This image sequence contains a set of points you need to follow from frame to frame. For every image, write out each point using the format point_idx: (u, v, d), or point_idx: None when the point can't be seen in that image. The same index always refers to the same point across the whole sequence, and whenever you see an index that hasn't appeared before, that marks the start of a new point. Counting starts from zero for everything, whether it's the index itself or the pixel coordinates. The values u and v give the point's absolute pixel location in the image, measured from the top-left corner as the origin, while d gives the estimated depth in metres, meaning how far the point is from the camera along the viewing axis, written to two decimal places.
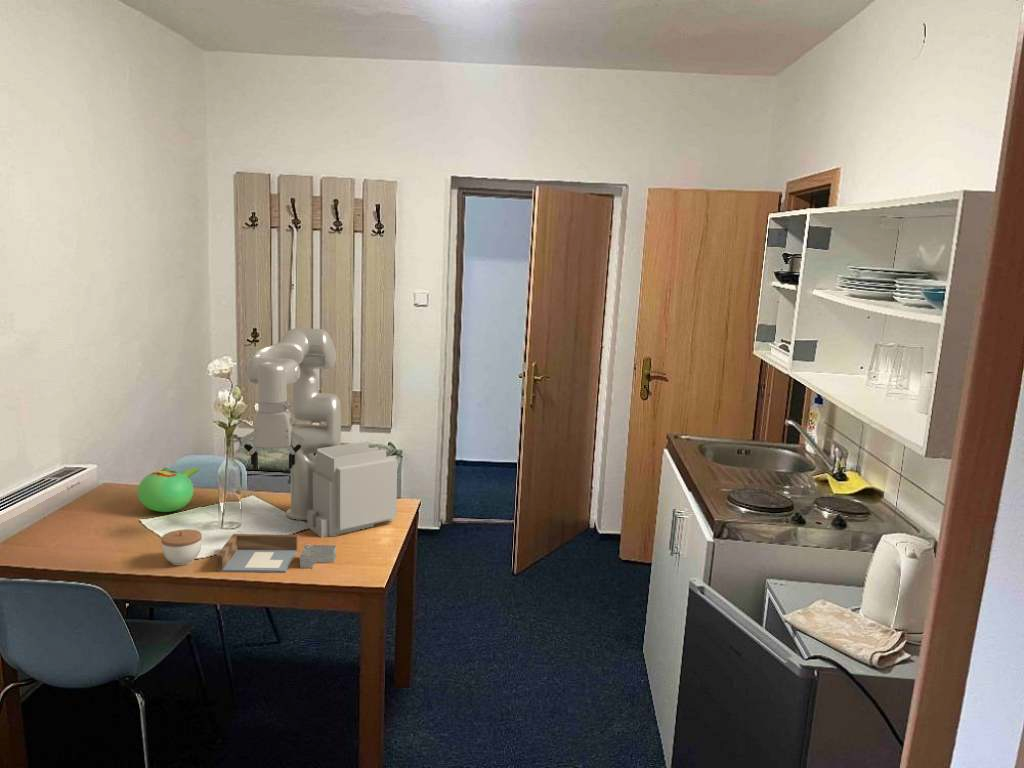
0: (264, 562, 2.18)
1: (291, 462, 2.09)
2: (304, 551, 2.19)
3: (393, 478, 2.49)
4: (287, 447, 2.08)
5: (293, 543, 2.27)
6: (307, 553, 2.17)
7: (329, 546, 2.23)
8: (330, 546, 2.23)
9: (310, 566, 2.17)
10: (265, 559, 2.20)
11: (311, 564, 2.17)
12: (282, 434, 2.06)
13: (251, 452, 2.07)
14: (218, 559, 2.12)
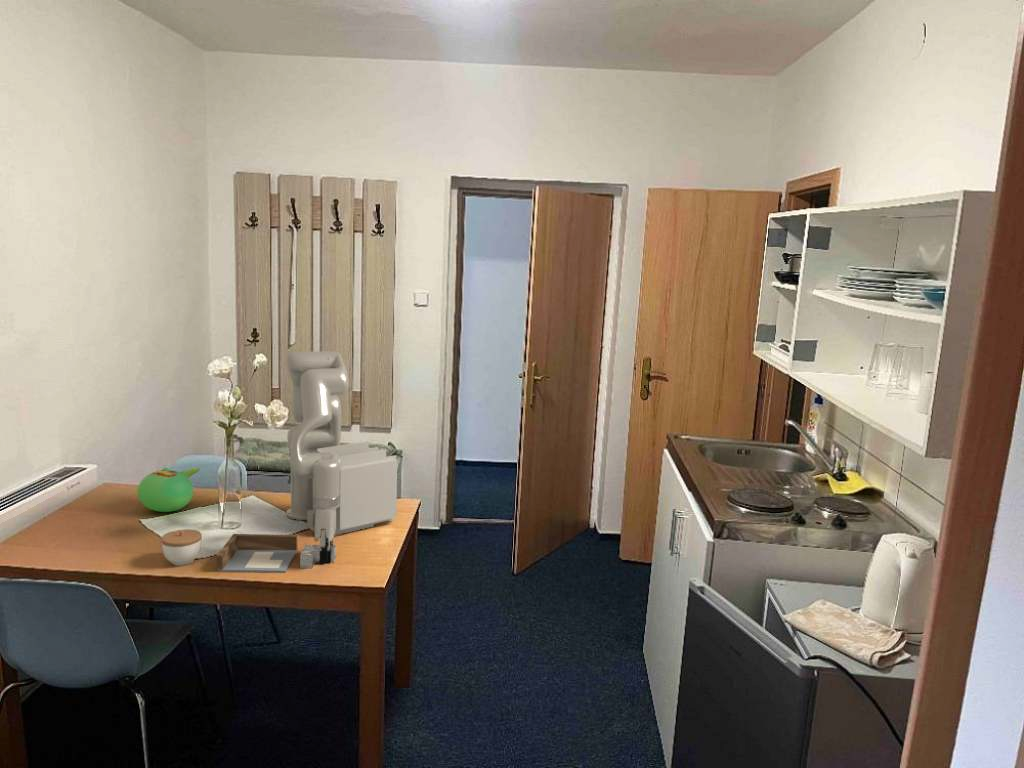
0: (264, 562, 2.18)
1: None
2: (304, 551, 2.19)
3: (393, 478, 2.49)
4: None
5: (293, 543, 2.27)
6: (307, 553, 2.17)
7: None
8: (330, 546, 2.23)
9: (310, 566, 2.17)
10: (265, 559, 2.20)
11: (311, 564, 2.17)
12: None
13: (328, 549, 2.19)
14: (218, 559, 2.12)
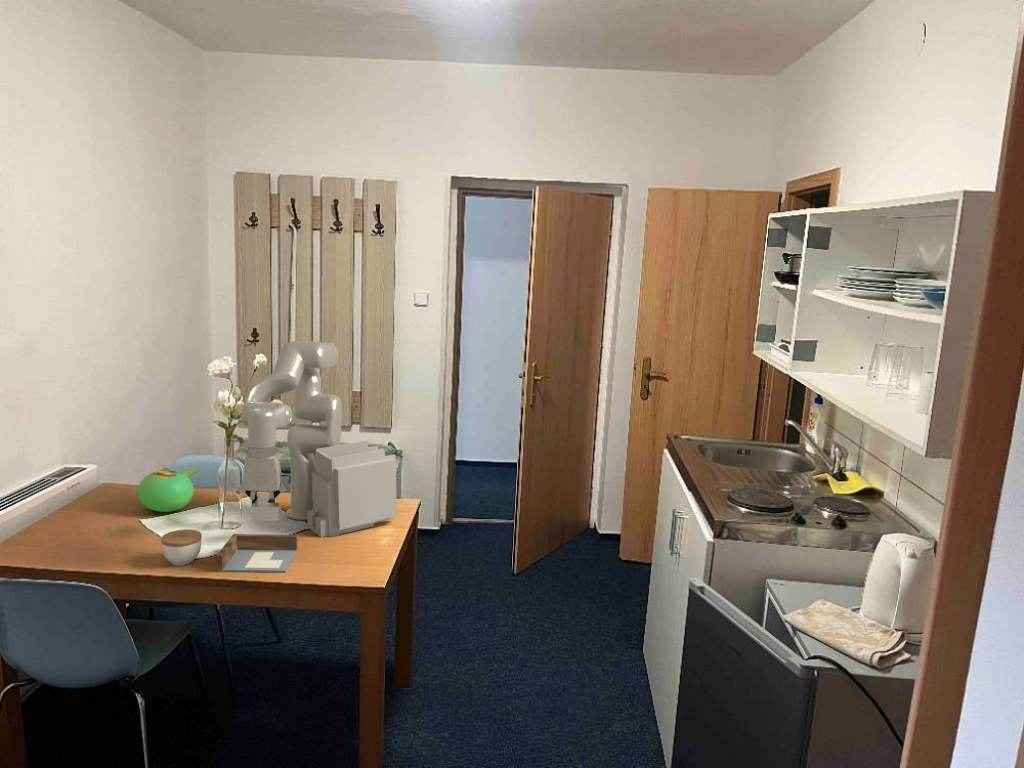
0: (264, 562, 2.18)
1: None
2: (269, 506, 2.13)
3: (392, 477, 2.49)
4: None
5: (293, 543, 2.27)
6: (275, 504, 2.14)
7: (260, 498, 2.19)
8: (261, 497, 2.19)
9: (280, 514, 2.16)
10: (265, 559, 2.20)
11: None
12: None
13: None
14: (218, 559, 2.12)
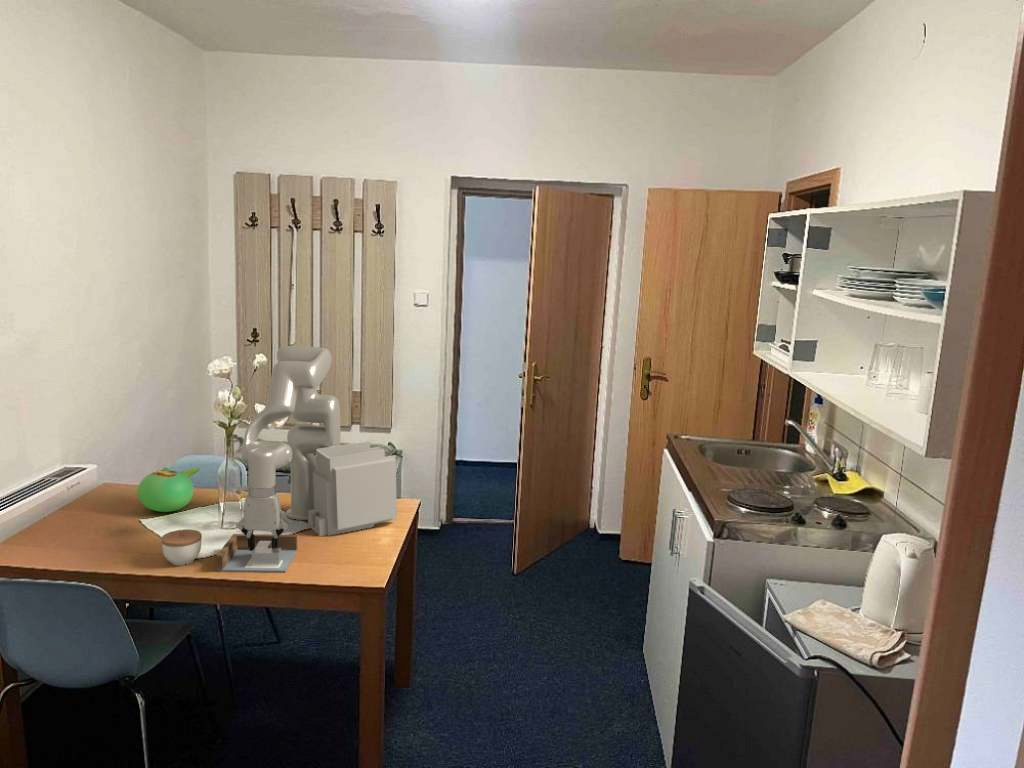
0: None
1: None
2: (269, 552, 2.15)
3: (391, 478, 2.48)
4: None
5: (293, 543, 2.27)
6: (275, 550, 2.17)
7: (261, 543, 2.21)
8: (261, 542, 2.22)
9: (280, 560, 2.18)
10: None
11: None
12: None
13: None
14: (218, 559, 2.12)
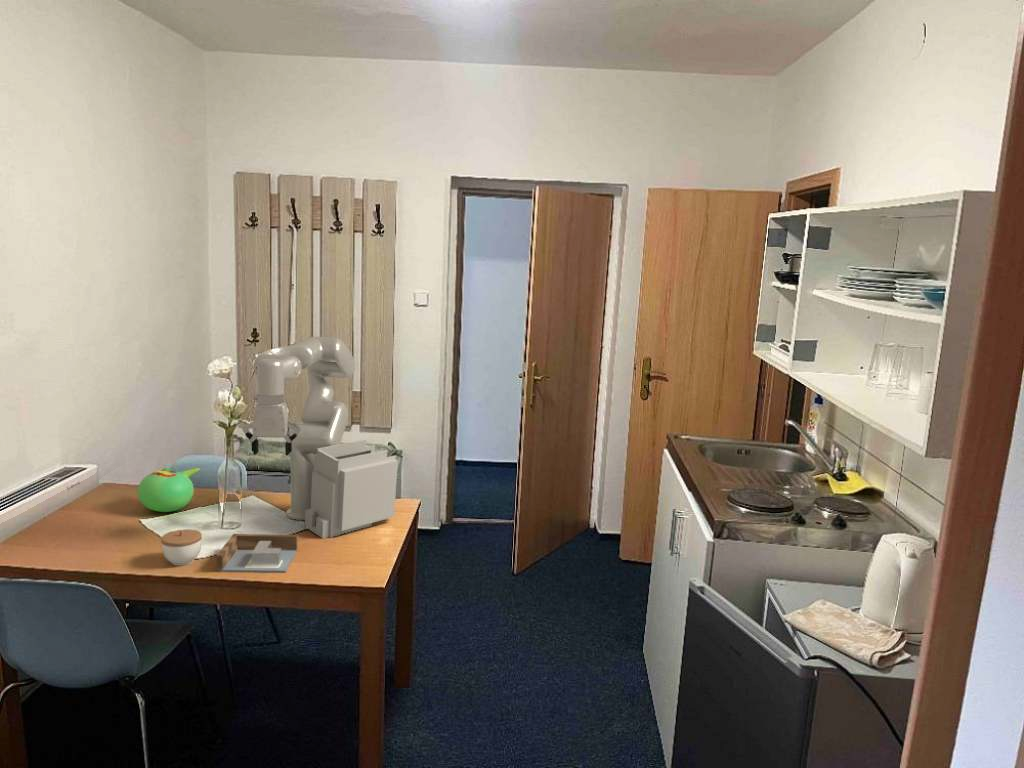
0: None
1: None
2: (269, 552, 2.15)
3: (393, 479, 2.50)
4: None
5: (293, 543, 2.27)
6: (275, 550, 2.17)
7: (261, 543, 2.21)
8: (261, 542, 2.22)
9: (280, 560, 2.18)
10: None
11: None
12: None
13: None
14: (218, 559, 2.12)
